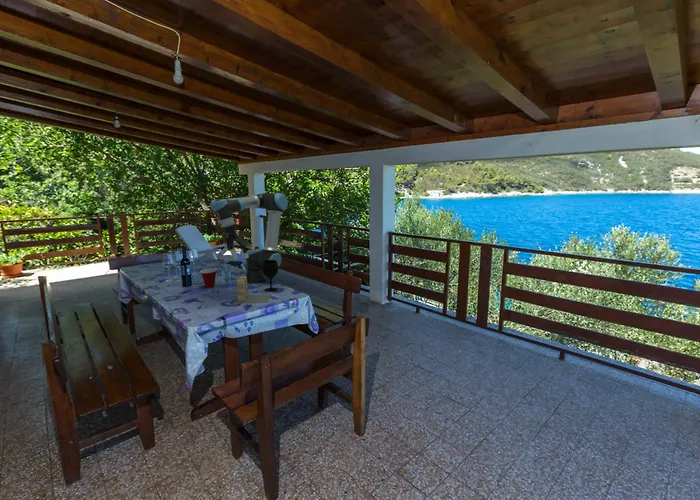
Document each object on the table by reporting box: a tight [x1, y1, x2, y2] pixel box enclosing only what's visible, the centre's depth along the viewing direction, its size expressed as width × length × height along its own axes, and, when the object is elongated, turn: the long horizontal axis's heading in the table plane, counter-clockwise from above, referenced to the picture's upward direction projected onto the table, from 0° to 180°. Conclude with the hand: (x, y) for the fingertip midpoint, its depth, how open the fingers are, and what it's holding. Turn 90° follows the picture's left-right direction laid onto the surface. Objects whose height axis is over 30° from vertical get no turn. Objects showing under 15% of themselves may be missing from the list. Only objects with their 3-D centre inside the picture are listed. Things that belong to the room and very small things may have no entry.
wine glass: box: [262, 260, 280, 293], centre depth 229 cm, size 10×10×20 cm
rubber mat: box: [233, 293, 272, 305], centre depth 212 cm, size 16×20×1 cm
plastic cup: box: [199, 267, 218, 289], centre depth 237 cm, size 11×11×12 cm
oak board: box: [236, 275, 249, 302], centre depth 210 cm, size 10×4×13 cm, turn 7°
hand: (241, 258), depth 210 cm, fingers open, 13 cm apart
